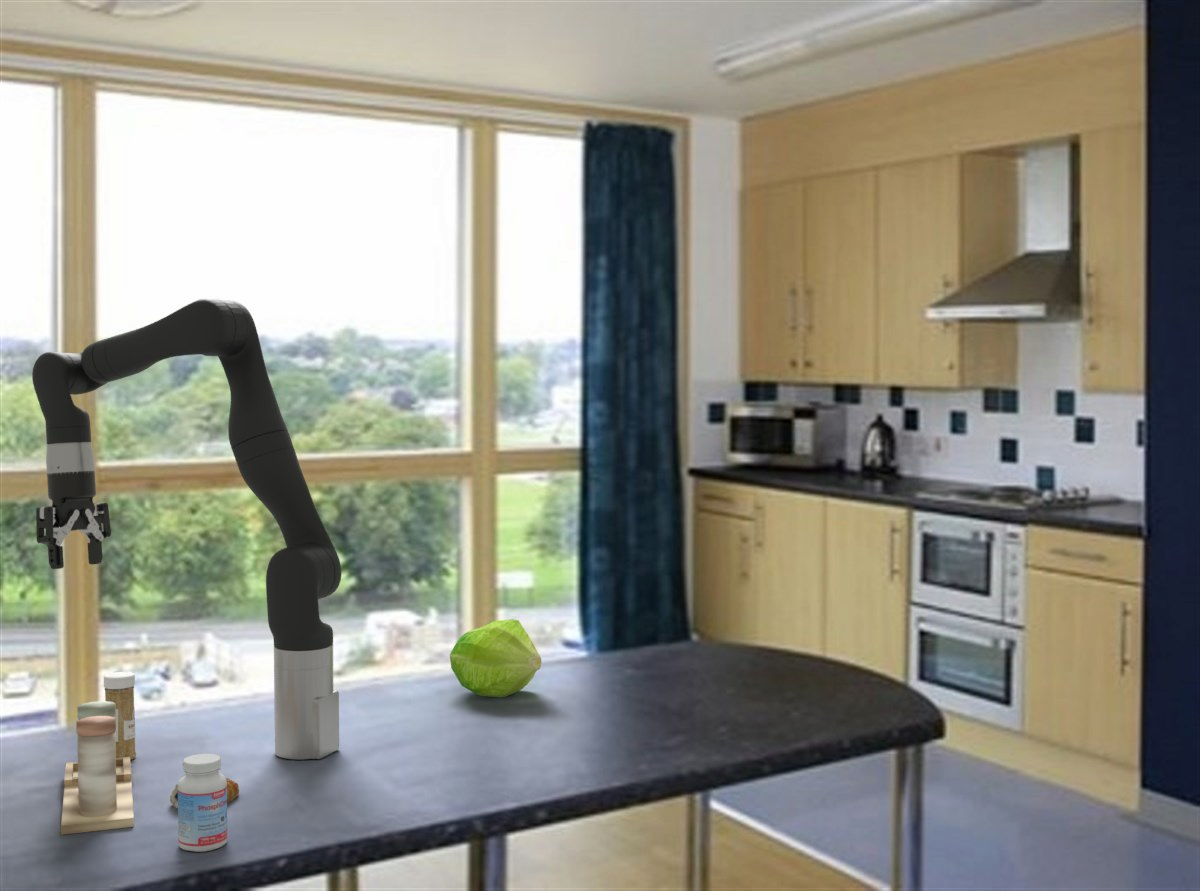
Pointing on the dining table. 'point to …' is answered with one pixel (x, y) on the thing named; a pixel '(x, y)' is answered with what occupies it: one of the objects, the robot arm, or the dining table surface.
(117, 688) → the spice jar
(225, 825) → the pill bottle
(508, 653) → the lettuce
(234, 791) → the pastry
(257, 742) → the dining table surface
